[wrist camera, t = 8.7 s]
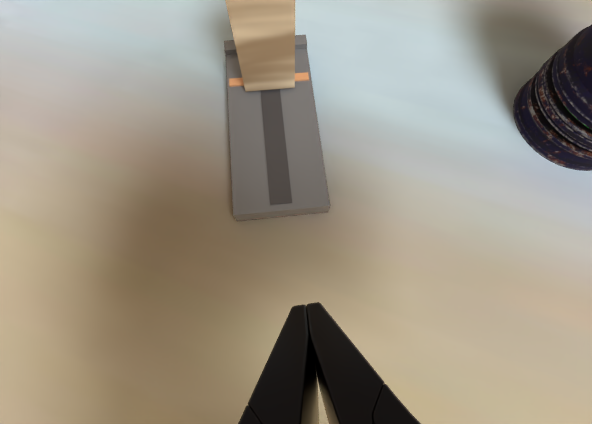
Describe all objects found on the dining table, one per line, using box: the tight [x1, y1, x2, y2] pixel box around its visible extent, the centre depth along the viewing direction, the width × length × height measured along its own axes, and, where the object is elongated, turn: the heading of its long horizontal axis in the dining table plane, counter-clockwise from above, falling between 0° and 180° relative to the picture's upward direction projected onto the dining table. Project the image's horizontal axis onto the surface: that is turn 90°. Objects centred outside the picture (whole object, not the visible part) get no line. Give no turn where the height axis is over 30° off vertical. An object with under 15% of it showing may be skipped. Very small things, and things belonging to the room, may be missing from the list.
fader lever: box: [225, 0, 295, 92], centre depth 20 cm, size 3×4×11 cm
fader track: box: [224, 35, 330, 221], centre depth 25 cm, size 16×7×2 cm, turn 6°
